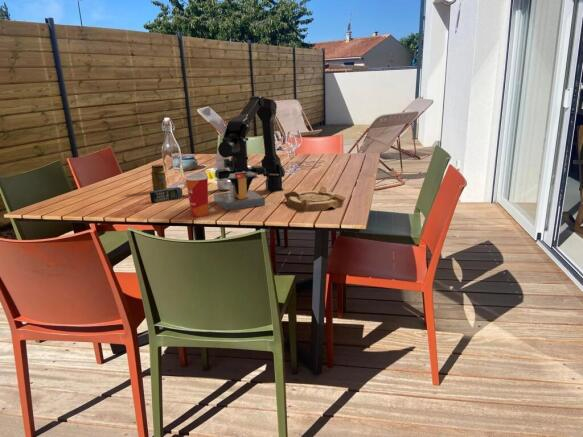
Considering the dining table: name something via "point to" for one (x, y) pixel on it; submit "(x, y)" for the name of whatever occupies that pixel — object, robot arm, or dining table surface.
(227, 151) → the robot arm
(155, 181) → the condiment
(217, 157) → the plastic bottle
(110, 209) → the dining table surface
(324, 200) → the ashtray
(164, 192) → the dark grey elongated bar
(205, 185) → the coffee cup
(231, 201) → the grey slotted base plate
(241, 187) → the orange rectangular block
